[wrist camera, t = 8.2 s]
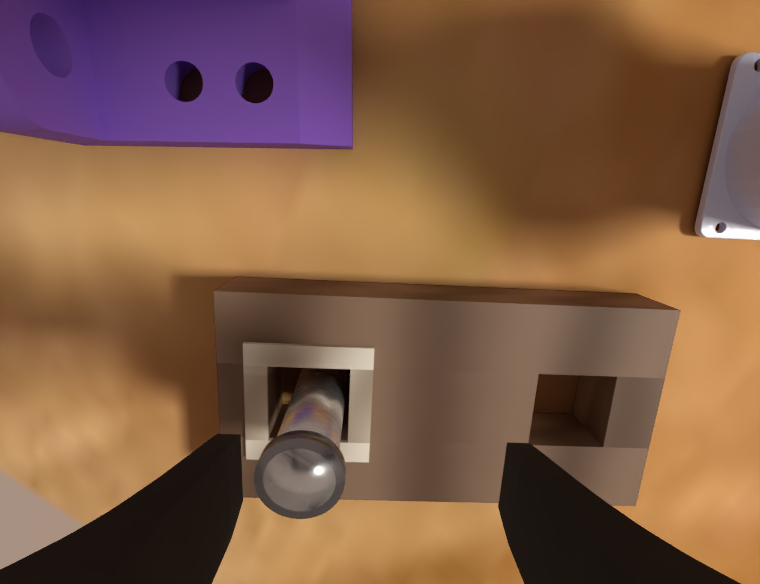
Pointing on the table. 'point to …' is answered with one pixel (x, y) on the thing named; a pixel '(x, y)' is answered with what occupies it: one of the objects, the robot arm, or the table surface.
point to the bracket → (177, 72)
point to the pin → (306, 449)
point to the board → (448, 380)
